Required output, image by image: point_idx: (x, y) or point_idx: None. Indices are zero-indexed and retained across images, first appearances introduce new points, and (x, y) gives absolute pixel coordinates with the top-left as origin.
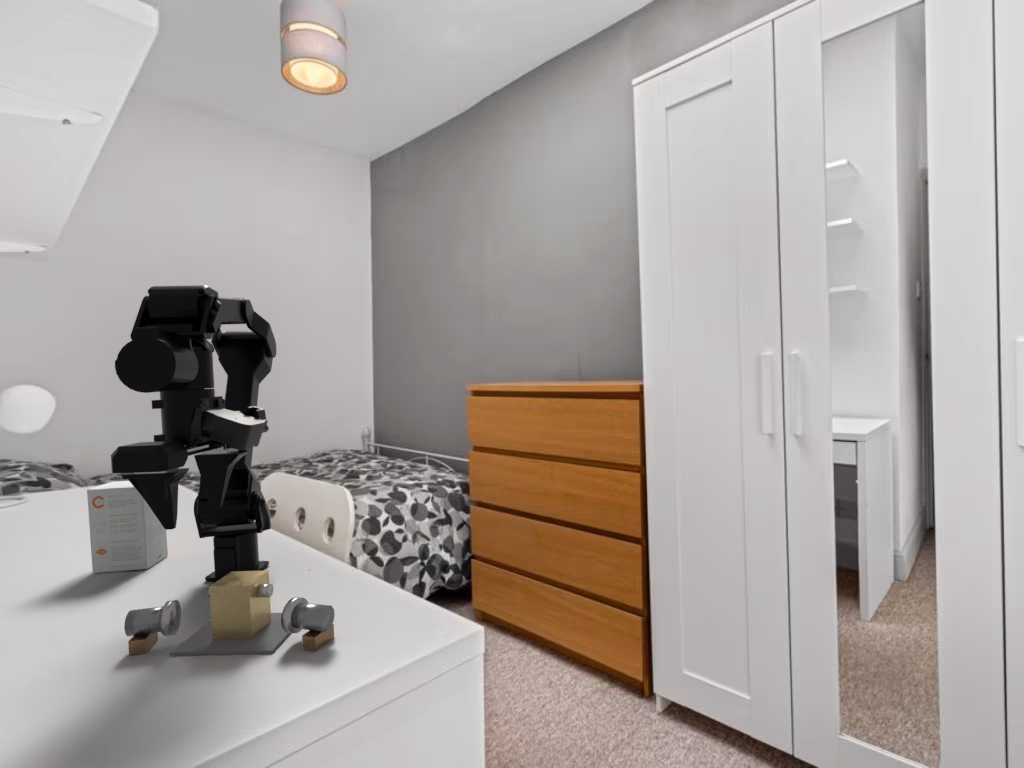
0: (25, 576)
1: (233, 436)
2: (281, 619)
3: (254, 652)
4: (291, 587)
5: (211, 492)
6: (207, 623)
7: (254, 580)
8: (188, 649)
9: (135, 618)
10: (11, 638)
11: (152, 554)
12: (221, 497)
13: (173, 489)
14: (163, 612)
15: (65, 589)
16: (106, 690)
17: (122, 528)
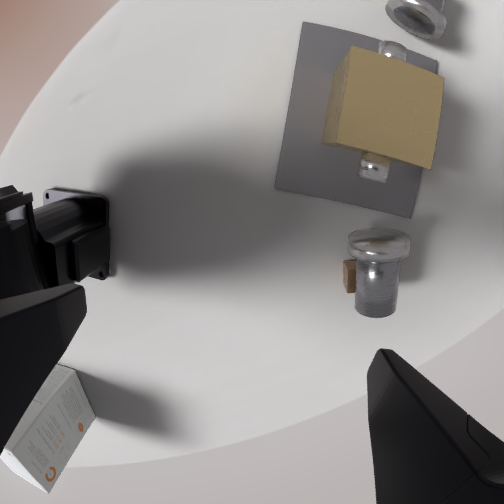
0: (111, 457)
1: None
2: (442, 35)
3: None
4: (155, 93)
5: (49, 349)
6: (314, 194)
7: (417, 68)
8: (408, 191)
9: (396, 297)
10: (274, 429)
11: (56, 375)
12: (56, 297)
13: (497, 454)
14: (407, 253)
15: (138, 428)
16: (467, 261)
17: (56, 430)
